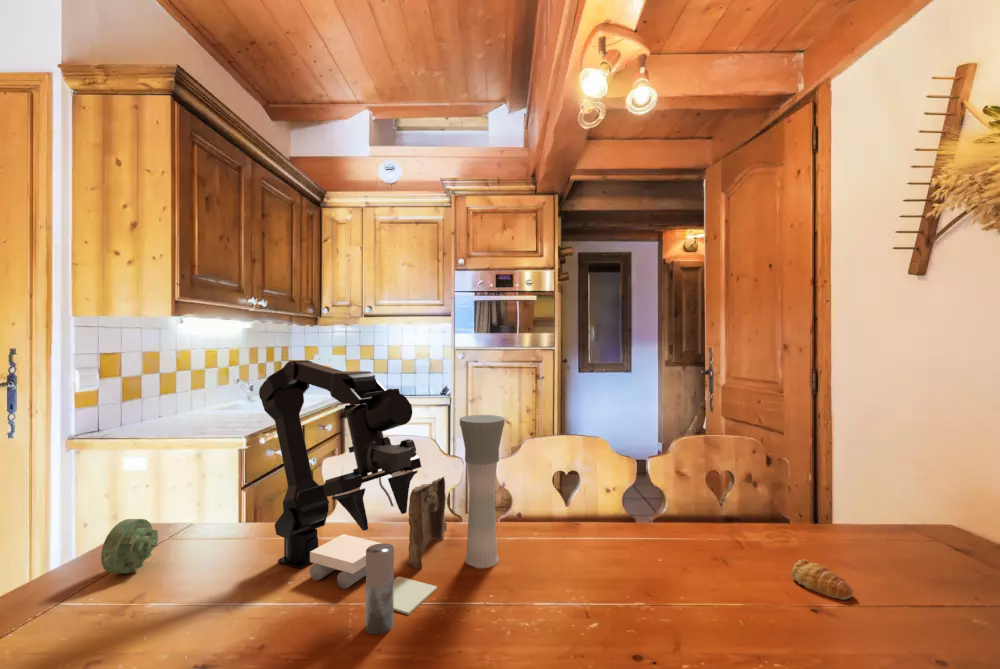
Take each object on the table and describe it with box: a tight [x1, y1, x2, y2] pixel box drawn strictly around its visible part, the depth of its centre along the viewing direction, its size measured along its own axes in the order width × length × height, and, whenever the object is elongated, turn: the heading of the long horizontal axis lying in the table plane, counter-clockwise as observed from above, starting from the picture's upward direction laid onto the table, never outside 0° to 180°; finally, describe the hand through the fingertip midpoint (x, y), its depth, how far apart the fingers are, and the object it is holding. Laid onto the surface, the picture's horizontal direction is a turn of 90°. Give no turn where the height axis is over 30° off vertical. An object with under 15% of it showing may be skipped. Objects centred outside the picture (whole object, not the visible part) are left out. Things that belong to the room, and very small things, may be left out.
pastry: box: [791, 558, 854, 601], centre depth 87 cm, size 9×7×4 cm
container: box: [459, 414, 505, 569], centre depth 98 cm, size 10×10×30 cm
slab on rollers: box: [309, 533, 381, 590], centre depth 92 cm, size 11×10×5 cm
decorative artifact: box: [100, 518, 159, 574], centre depth 93 cm, size 10×7×10 cm
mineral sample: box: [407, 476, 448, 569], centre depth 102 cm, size 17×4×15 cm, turn 168°
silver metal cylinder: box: [365, 542, 395, 636], centre depth 75 cm, size 4×4×12 cm
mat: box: [394, 575, 438, 616], centre depth 84 cm, size 9×9×1 cm
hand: (385, 521), depth 84 cm, fingers open, 9 cm apart
